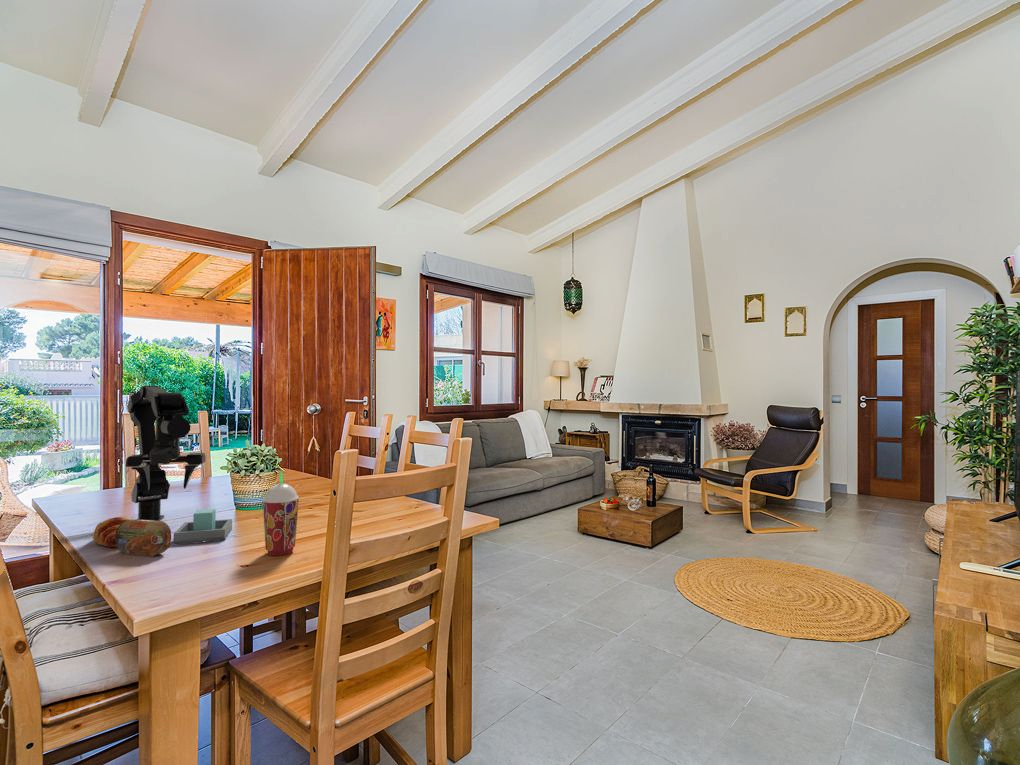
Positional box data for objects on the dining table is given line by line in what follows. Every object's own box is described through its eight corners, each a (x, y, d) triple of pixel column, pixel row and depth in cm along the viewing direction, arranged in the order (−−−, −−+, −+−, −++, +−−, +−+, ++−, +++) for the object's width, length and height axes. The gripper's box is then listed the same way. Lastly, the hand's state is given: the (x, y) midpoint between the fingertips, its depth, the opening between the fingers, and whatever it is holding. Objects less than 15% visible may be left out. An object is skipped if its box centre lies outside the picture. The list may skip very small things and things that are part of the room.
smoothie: (304, 552, 131) (305, 472, 131) (270, 560, 125) (272, 476, 125) (289, 545, 136) (290, 469, 137) (256, 552, 130) (257, 472, 131)
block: (197, 531, 146) (197, 510, 146) (215, 530, 147) (215, 509, 147) (193, 535, 141) (193, 513, 141) (211, 534, 143) (212, 512, 143)
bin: (184, 532, 148) (185, 522, 148) (232, 529, 152) (232, 519, 152) (173, 544, 136) (173, 533, 136) (224, 540, 140) (224, 529, 141)
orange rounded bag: (113, 553, 129) (114, 519, 129) (125, 549, 132) (126, 516, 133) (162, 558, 126) (163, 523, 126) (173, 554, 129) (174, 520, 129)
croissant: (103, 546, 147) (86, 522, 145) (142, 524, 152) (126, 501, 150) (103, 564, 130) (84, 538, 128) (146, 539, 136) (129, 514, 134)
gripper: (119, 438, 140) (117, 496, 140) (198, 437, 146) (197, 492, 146) (133, 435, 150) (132, 489, 150) (206, 434, 157) (205, 485, 157)
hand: (166, 489), depth 151 cm, fingers open, 9 cm apart
